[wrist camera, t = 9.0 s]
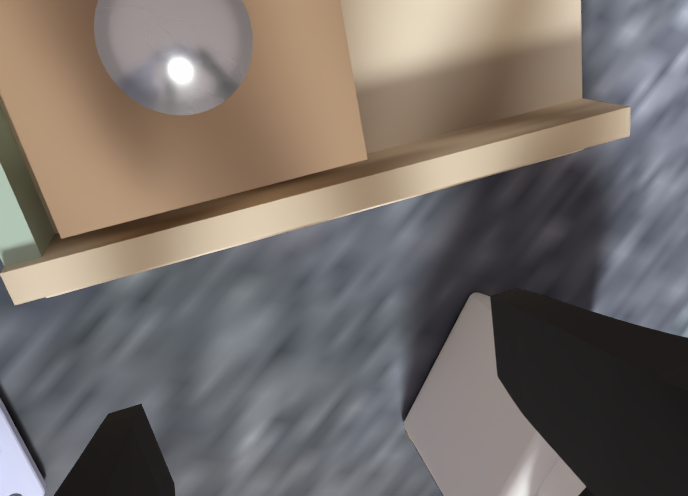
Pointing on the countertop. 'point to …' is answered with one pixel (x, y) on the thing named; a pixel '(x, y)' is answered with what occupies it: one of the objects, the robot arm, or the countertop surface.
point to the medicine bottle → (481, 422)
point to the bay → (378, 130)
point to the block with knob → (174, 100)
